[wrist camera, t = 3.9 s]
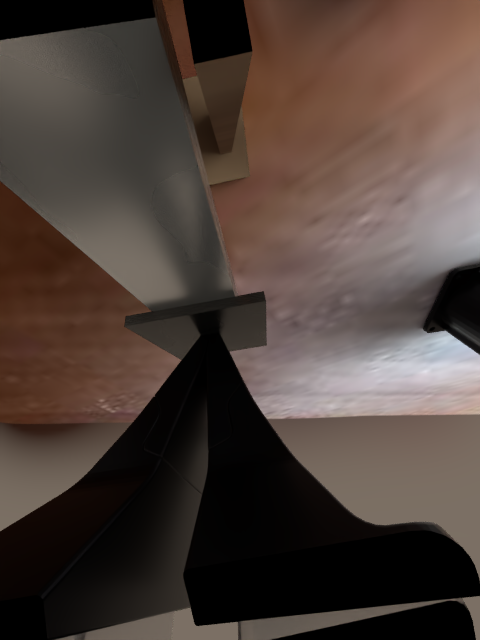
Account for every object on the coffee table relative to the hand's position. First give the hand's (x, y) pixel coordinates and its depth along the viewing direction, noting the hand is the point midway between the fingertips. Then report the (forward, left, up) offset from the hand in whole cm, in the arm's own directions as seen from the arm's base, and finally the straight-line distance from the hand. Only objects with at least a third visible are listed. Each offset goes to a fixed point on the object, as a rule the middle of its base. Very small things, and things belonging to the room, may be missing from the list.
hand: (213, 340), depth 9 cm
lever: (+10, 0, -1) cm, 10 cm away
